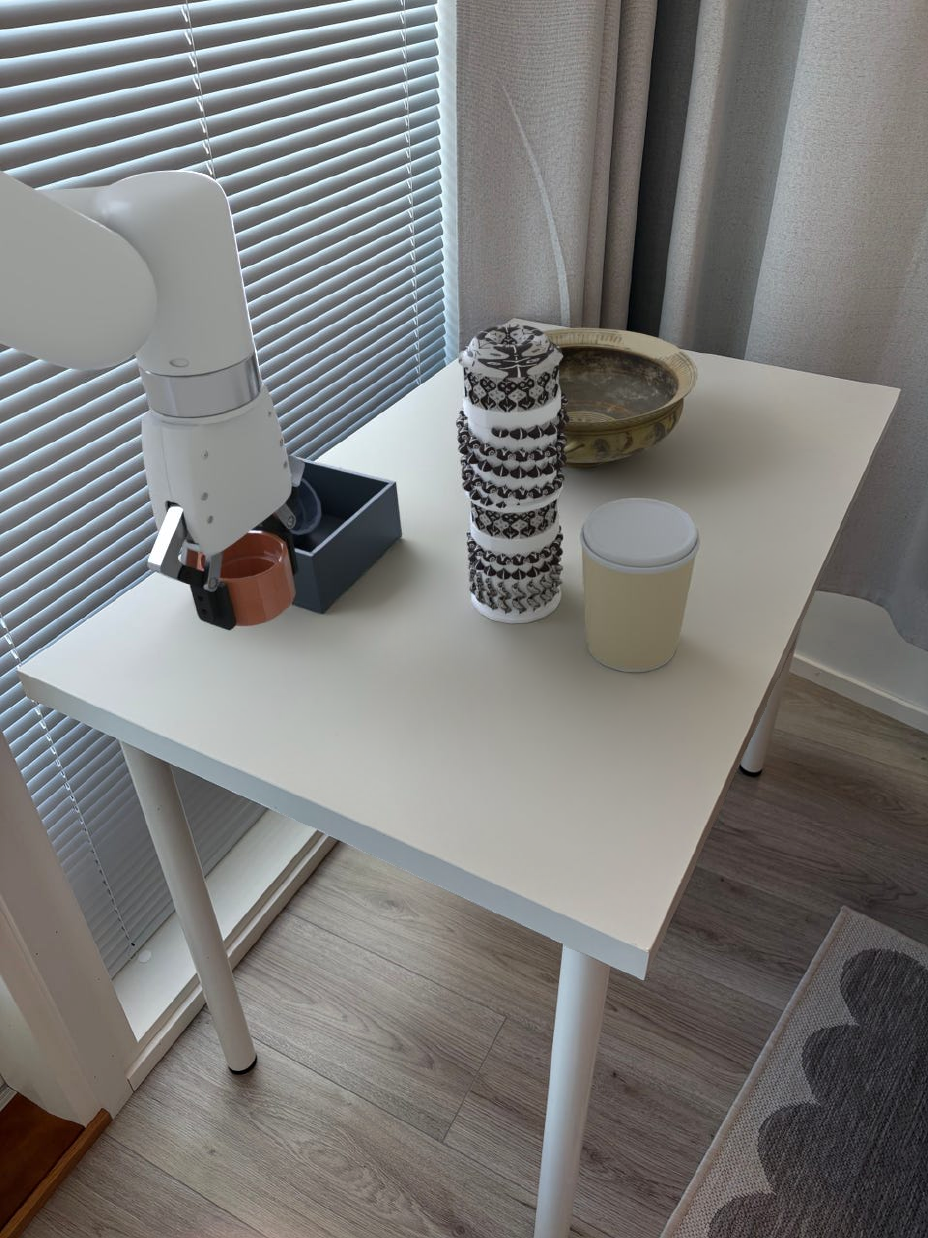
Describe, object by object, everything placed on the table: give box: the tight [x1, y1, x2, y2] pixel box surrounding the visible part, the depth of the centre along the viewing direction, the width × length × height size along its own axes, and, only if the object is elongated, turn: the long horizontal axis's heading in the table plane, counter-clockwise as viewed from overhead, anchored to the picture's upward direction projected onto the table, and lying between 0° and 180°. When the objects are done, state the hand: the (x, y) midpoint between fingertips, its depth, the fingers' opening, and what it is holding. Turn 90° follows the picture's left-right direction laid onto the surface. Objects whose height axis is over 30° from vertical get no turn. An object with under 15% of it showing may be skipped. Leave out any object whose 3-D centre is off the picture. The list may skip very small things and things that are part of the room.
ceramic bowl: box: [541, 327, 698, 468], centre depth 106 cm, size 30×24×10 cm
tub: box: [291, 456, 403, 615], centre depth 93 cm, size 14×14×6 cm
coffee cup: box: [579, 497, 701, 673], centre depth 78 cm, size 9×9×12 cm
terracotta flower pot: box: [197, 531, 296, 627], centre depth 73 cm, size 7×7×4 cm
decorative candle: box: [455, 323, 569, 624], centre depth 80 cm, size 9×9×25 cm
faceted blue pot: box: [251, 477, 322, 545], centre depth 94 cm, size 7×7×4 cm
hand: (250, 594), depth 73 cm, fingers closed on terracotta flower pot, 6 cm apart
